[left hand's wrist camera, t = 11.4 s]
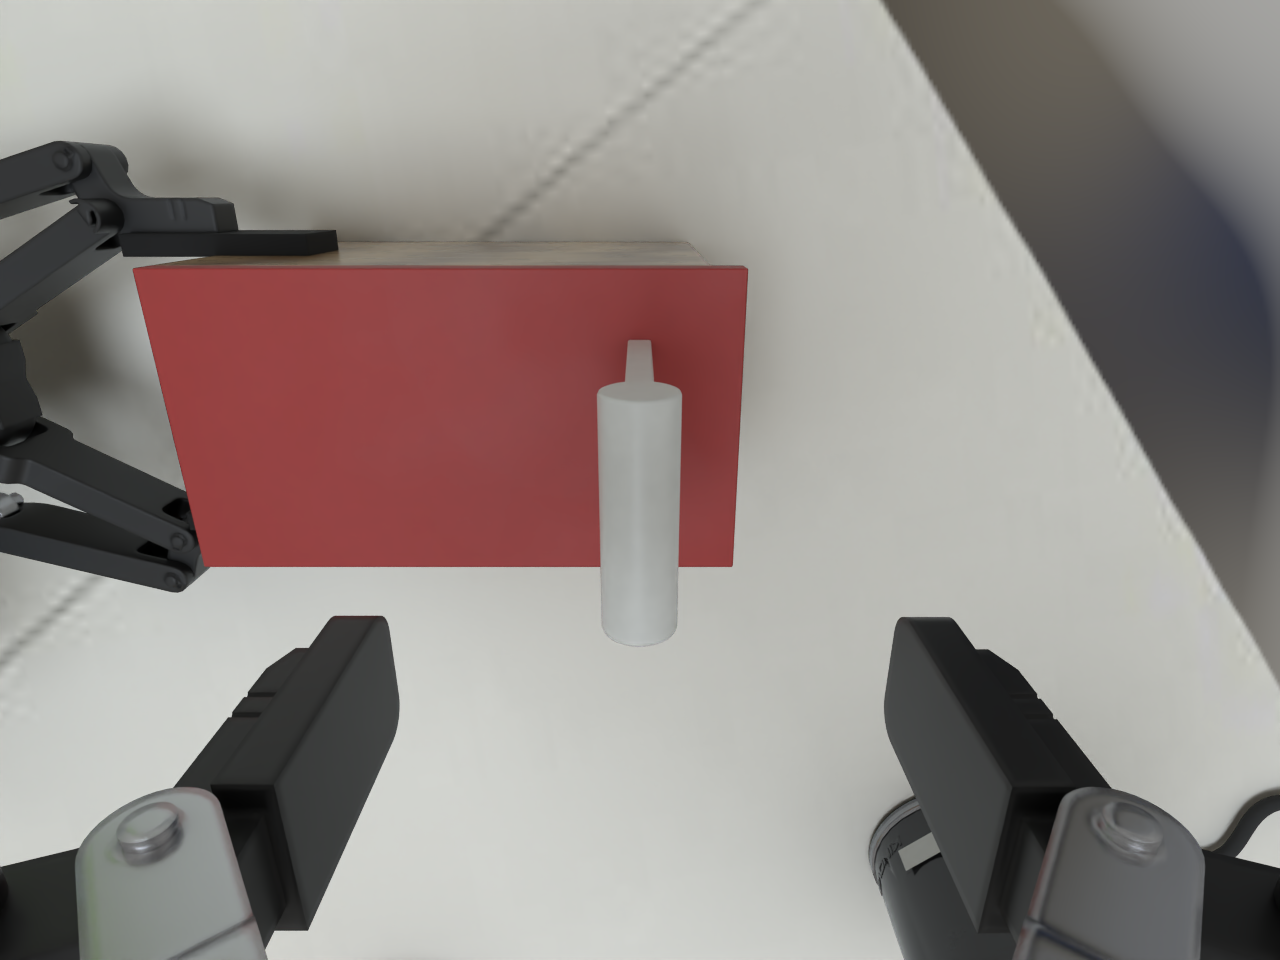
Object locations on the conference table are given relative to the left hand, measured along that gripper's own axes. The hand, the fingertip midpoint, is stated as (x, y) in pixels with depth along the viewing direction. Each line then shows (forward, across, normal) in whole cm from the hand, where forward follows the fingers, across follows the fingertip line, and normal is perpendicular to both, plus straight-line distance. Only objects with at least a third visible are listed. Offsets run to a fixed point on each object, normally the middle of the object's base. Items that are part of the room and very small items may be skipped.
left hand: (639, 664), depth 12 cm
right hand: (+18, +12, 0) cm, 22 cm away
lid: (+14, +6, 0) cm, 15 cm away
